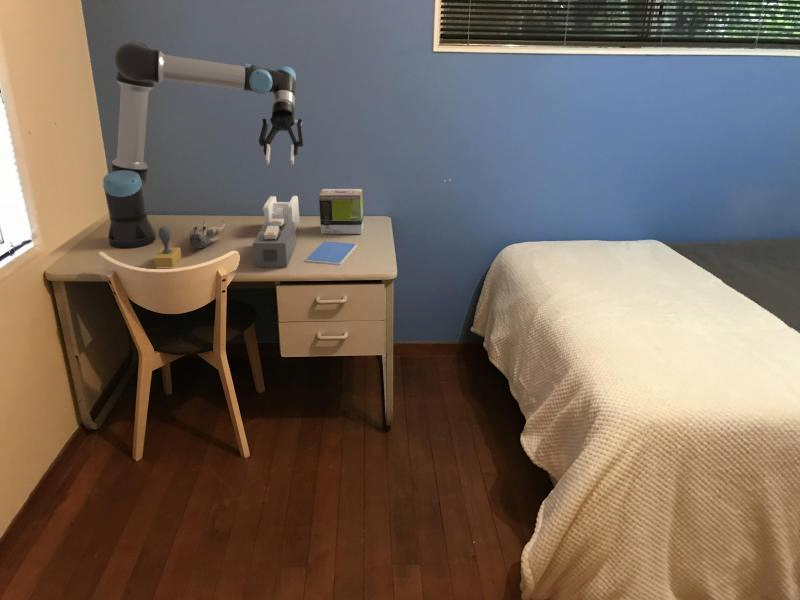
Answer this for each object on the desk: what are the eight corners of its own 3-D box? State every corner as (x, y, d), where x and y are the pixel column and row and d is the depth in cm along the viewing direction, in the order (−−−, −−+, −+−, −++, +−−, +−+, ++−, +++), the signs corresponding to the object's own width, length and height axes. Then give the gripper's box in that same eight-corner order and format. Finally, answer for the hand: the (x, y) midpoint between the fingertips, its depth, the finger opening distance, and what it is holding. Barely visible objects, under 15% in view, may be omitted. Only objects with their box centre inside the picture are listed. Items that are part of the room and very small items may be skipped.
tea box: (363, 226, 232) (363, 188, 226) (361, 235, 223) (360, 195, 217) (323, 226, 232) (322, 187, 226) (320, 234, 223) (318, 194, 217)
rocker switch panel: (254, 268, 192) (252, 243, 188) (267, 244, 212) (265, 221, 209) (286, 268, 192) (285, 243, 189) (296, 244, 212) (294, 221, 209)
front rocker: (264, 239, 191) (264, 234, 191) (268, 230, 197) (267, 225, 196) (276, 239, 192) (275, 234, 191) (279, 230, 197) (278, 225, 196)
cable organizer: (293, 236, 220) (291, 205, 215) (264, 236, 220) (261, 205, 215) (300, 224, 234) (298, 194, 229) (272, 224, 234) (269, 194, 229)
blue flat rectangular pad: (340, 266, 195) (340, 263, 194) (303, 263, 198) (303, 259, 197) (358, 247, 212) (358, 243, 212) (323, 244, 215) (323, 240, 214)
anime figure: (226, 215, 227) (209, 230, 198) (228, 235, 229) (211, 252, 201) (200, 216, 226) (178, 231, 198) (202, 235, 229) (181, 253, 200)
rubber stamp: (173, 268, 191) (168, 231, 186) (154, 269, 190) (148, 232, 185) (182, 257, 200) (177, 222, 195) (164, 257, 199) (158, 222, 194)
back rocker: (270, 226, 201) (269, 221, 200) (273, 223, 207) (273, 218, 206) (281, 226, 201) (280, 221, 200) (284, 223, 207) (284, 218, 206)
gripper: (313, 114, 221) (311, 168, 212) (256, 113, 220) (251, 168, 212) (311, 100, 214) (308, 156, 205) (252, 99, 213) (247, 156, 205)
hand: (279, 162), depth 209 cm, fingers open, 8 cm apart
